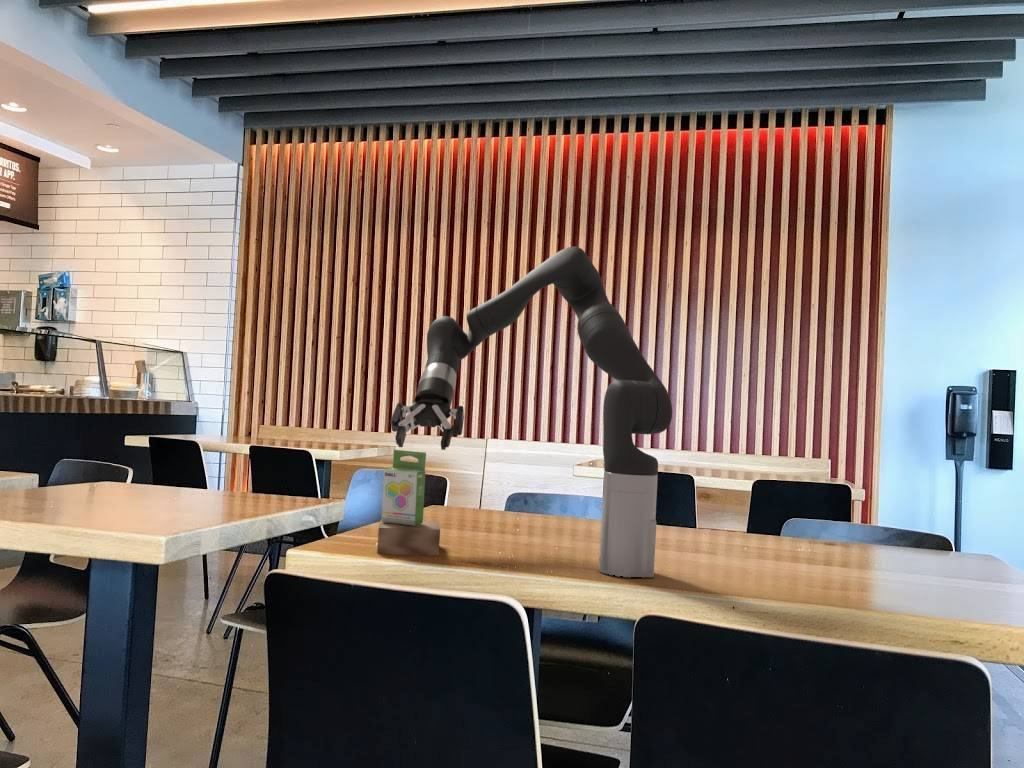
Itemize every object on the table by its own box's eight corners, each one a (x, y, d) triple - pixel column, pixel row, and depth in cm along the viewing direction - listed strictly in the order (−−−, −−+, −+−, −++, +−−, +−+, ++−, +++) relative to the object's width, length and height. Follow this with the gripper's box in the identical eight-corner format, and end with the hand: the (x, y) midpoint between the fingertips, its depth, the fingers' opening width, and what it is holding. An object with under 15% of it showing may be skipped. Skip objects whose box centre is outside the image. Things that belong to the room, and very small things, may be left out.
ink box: (380, 522, 150) (384, 450, 150) (390, 519, 154) (394, 449, 154) (414, 526, 148) (418, 453, 148) (423, 523, 152) (427, 452, 152)
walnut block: (436, 547, 156) (438, 521, 157) (438, 557, 146) (440, 529, 146) (379, 545, 155) (380, 519, 155) (377, 555, 144) (378, 527, 144)
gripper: (471, 403, 170) (458, 461, 158) (405, 400, 172) (388, 456, 160) (468, 377, 165) (455, 434, 153) (400, 373, 167) (382, 430, 155)
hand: (421, 445), depth 157 cm, fingers open, 8 cm apart
